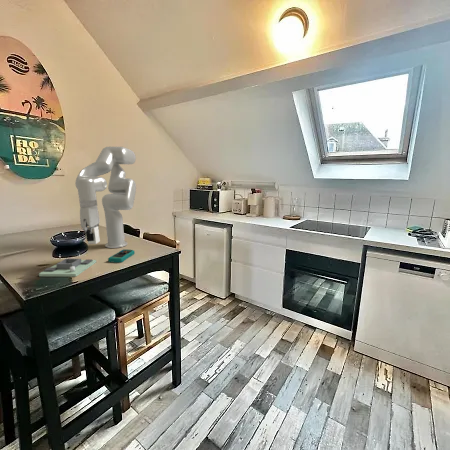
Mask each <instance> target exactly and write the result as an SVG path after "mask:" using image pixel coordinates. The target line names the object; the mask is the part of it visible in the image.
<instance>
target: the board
mask: <svg viewBox="0 0 450 450" xmlns="http://www.w3.org/2000/svg"><path fill="white" fill-rule="evenodd" d="M96 263H97V259H93V258H92V259H89V258H88V259H82V258H65V259H62V260H60V261H59V262H57V263H56V264H54V265H52V266H50V267H47V268H45V269H43V271H41V272H39V273H38V277H54V278H55V277H57V278H58V277H66V278H67V277H69V278H70V277H71V278H72V277H78V276H79V275H80V274H82V273H83V272H85V271H86V270H88V268H90V267H92V266H93V265H95V264H96Z"/></svg>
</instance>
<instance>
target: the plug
mask: <svg viewBox="0 0 450 450" xmlns="http://www.w3.org/2000/svg"><path fill="white" fill-rule="evenodd" d="M98 228H99V226H94V227H92V233H93V237H94V241H87V244H88V245H93V244H94V245H97V244H98V243H99V242H101V239H100V230H98ZM88 229H89V230H90V228H88Z"/></svg>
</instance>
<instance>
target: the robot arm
mask: <svg viewBox="0 0 450 450" xmlns="http://www.w3.org/2000/svg"><path fill="white" fill-rule="evenodd" d="M136 159H137V157H136V154H135V152H134V150H132V149H129V148H127V147H124V146H106V147H104V148H102V150H101V151H100V153H99V155H98V157H97V158H96V160H95V162H92V163H91V164H88V165H87V166H85V167H84V168H82V169H81V170H80V171H79V173H78V175H77V177H76V179H75V181H74V182H75V184H74V185H75V187H76V189H77V195H78V200H79V206H80V208H79V220H80V221H79V222H80V228H82V231H83V232H84V234H85V235H86V242H88V241H94V237H93V233H92V227H94V226H98V230H99V229H100V228H99V226H100V225H99V224H100V223H101V222H100V214H99V210H98V209H99V208H98V199H97V194H96V193H97V192H103V191H104V192H105V190H106V189H108V192H109V193H107V194H104V195H103V196H102V199H101V204H102V208H103V211H104V216H105V217H104V218H105V227H106V228H105V229H106V237H107V238H106V239H107V240H106V241H107V242H106V243H105V244H104V246H105V248H108V249H119V248H122V247H123V248H124V247H126V246H127V245H128V242H127V241H125V239H126V236H125V232H124V217H123V215H122V213H121V212H120V211H130V210H132V209H133V207H134V204H135V197H136V193H137V185H136V181H135V180H134V179H133V178H127V177H126V175H127V173H126V171H125V170H124V169H123V167H122V166H121V165H133V164H135V163H136ZM109 173H110V176H109V181H108V183H107V179H105V178H104V177H102V176H103V175H107V174H109ZM88 228H90V230H89V229H88ZM99 231H100V230H99Z"/></svg>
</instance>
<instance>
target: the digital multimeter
mask: <svg viewBox="0 0 450 450" xmlns="http://www.w3.org/2000/svg"><path fill="white" fill-rule="evenodd" d="M134 255H135V250H133V249H121V250H120V251H118V252H116V253H115V254H112V255H111V256H110V257H108V258H107V261H108V263H114V264H115V263H118V264H119V263H121V264H122V263H123V262H124V261H126V260H127V259H129V258H131V257H132V256H134Z"/></svg>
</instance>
